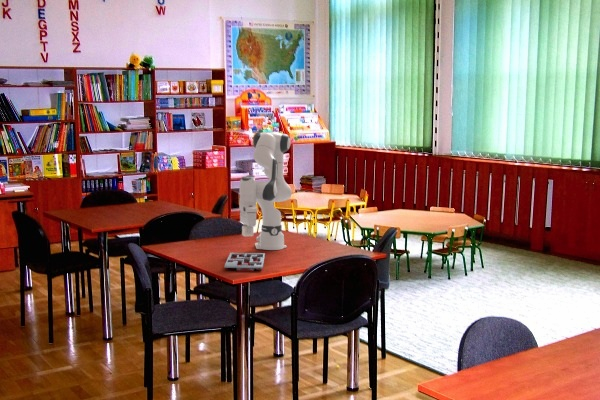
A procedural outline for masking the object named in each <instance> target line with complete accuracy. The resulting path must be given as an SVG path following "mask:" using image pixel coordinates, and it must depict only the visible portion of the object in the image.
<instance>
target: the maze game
mask: <svg viewBox="0 0 600 400" xmlns="http://www.w3.org/2000/svg"><path fill="white" fill-rule="evenodd" d="M265 255H266V253H265V252H263V253H262V252H230V253H229V254H228V257H227V260H226V262H225V263H224V268H226V269H228V268H231V269H236V272H254V271H255V270H256V271H262V269H263V268H264V262H265V258H266V257H265Z"/></svg>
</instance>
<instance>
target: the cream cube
mask: <svg viewBox="0 0 600 400" xmlns="http://www.w3.org/2000/svg"><path fill="white" fill-rule="evenodd" d="M247 230H248V227H247V226H244V225H242V226H241V236H243V237H246V238H247V237H254V227H252V229H251V234H248V233H247Z"/></svg>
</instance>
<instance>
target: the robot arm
mask: <svg viewBox="0 0 600 400" xmlns="http://www.w3.org/2000/svg"><path fill="white" fill-rule="evenodd" d="M291 142H292V141H291V138H290V136H289V134H286V133H280V132H273V131H272V132H270V131H269V132H268V131H266V132H263V131H258V132H256V133H255V134H254V136H253V138H252V146H253V147H254V151H253V160H254V161H255V163H256V164H257V165H259V166H260V167H262V168H264V169H263V170H264V171H263V172H264V174H265V175H264V176H266V177H267V178H268V180H267V181H256V178H255V177H254V176H252V175H246V176H243V177H241V178H240V182H239V189H238V190H239V192H238V193H239V202H238V203H239V204H238V205H239V206H238V207H239V211H240V213H239V221H240V223H242V226H247V227H248V230H247V233H248V234H251V229H252V227H253V228H254V227H256V225H257V213H258V207H257V204H258V205H259V207H260V210H261V214H262V225H261V227H260V228H261V231H260V233H259V235H258V236H256V239H255V240H256V241H257V242H255V243H254V246H255V248H256V250H266V251H278V250H283V249H285V248H287V245H286V244H285V235H284V233H283V232H282V229H283V228H282V212H281V211H280V210H279V209H278V208H276V207H275V204H274V203H276V202H277V203H280V202H281V203H282V202H285V201H289V200H290V199H291V197H292V191H293V190H292V188H291V186H290V185H289V184H288V183H287V182H286V180H285V177H284V153H286V152H287V151H289V149H290V147H291Z"/></svg>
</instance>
